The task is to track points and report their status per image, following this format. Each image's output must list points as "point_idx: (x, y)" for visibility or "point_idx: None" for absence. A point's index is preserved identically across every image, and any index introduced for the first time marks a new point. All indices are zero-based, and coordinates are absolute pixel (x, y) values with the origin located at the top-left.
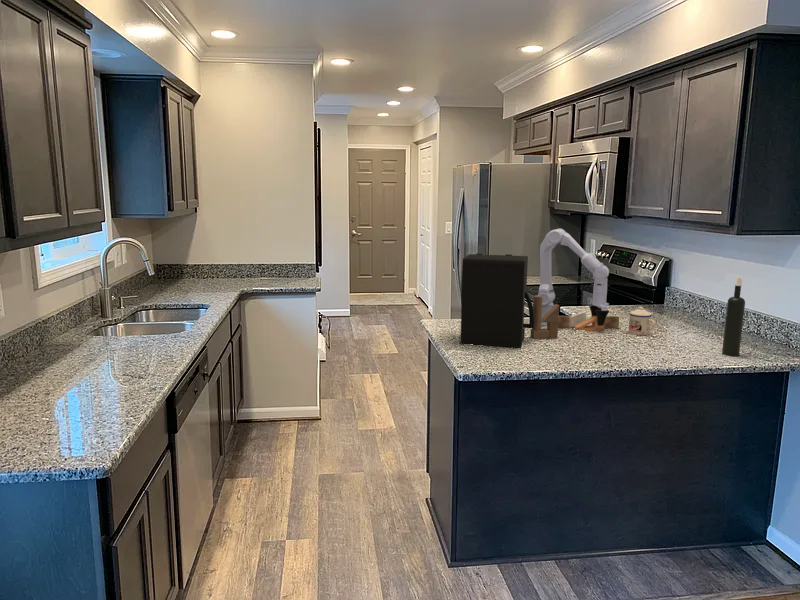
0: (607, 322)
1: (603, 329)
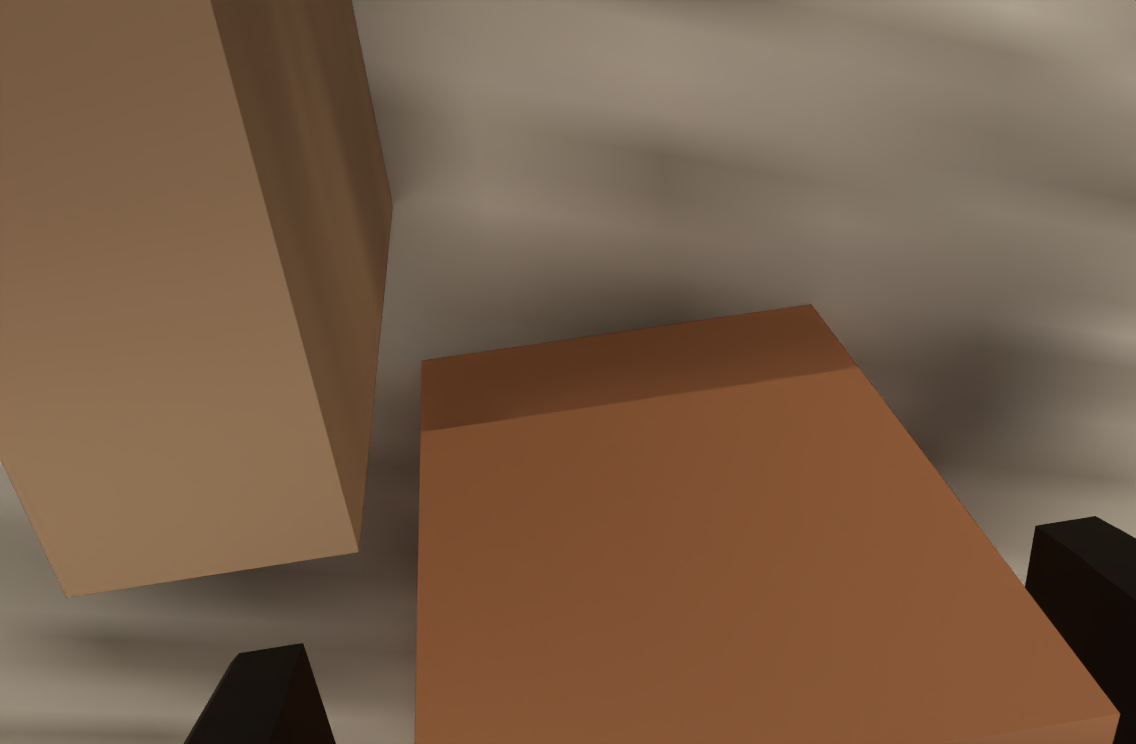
0: (349, 222)
1: (838, 354)
